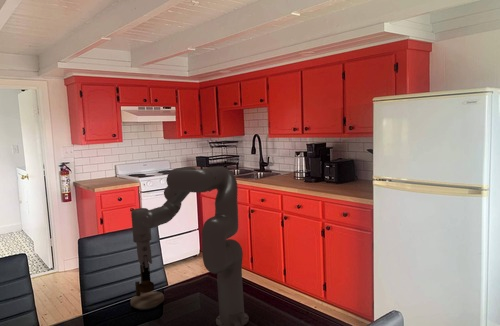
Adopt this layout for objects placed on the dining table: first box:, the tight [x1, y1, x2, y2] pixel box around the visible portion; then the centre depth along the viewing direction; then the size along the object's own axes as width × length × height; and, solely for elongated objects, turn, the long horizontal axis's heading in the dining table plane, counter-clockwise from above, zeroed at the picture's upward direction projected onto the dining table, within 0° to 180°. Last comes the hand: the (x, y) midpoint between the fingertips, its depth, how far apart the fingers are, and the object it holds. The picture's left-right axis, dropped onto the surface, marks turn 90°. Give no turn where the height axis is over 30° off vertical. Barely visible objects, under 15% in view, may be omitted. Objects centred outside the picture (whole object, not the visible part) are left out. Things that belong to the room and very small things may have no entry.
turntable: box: [130, 281, 165, 309], centre depth 167 cm, size 14×14×8 cm
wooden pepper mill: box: [138, 263, 155, 293], centre depth 167 cm, size 7×6×18 cm
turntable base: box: [136, 304, 160, 311], centre depth 168 cm, size 10×10×1 cm
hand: (145, 278), depth 167 cm, fingers closed on wooden pepper mill, 3 cm apart
